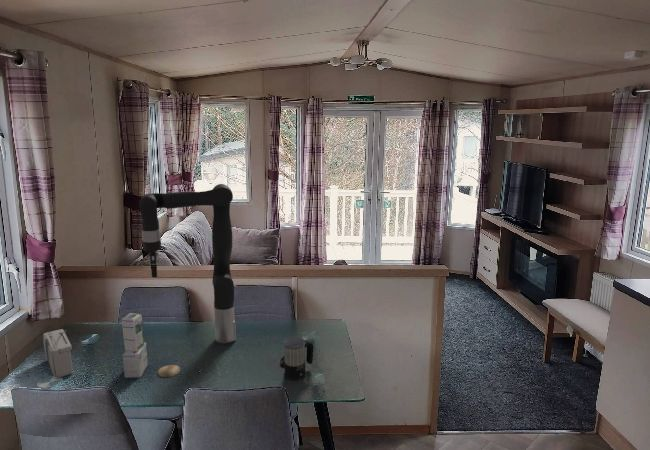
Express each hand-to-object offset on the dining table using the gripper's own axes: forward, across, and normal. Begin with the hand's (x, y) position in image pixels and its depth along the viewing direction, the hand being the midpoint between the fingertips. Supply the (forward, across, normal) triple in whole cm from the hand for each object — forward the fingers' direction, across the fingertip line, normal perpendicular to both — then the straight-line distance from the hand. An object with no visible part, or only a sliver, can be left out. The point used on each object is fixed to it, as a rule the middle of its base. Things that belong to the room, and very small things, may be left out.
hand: (154, 274), depth 218 cm
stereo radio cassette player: (+36, -5, +41) cm, 55 cm away
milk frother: (+36, -40, -53) cm, 75 cm away
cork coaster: (+36, -24, -3) cm, 43 cm away
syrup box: (+26, -19, +10) cm, 33 cm away
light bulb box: (+36, -19, +10) cm, 42 cm away
